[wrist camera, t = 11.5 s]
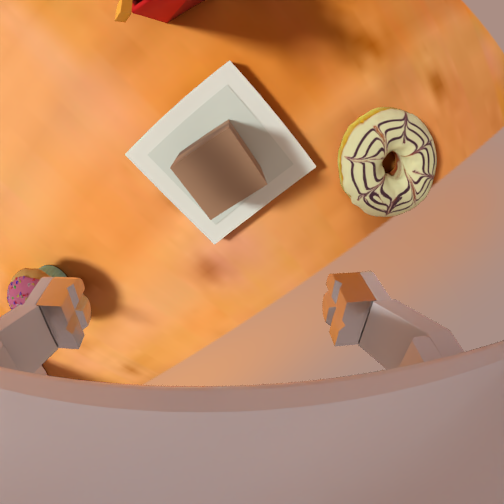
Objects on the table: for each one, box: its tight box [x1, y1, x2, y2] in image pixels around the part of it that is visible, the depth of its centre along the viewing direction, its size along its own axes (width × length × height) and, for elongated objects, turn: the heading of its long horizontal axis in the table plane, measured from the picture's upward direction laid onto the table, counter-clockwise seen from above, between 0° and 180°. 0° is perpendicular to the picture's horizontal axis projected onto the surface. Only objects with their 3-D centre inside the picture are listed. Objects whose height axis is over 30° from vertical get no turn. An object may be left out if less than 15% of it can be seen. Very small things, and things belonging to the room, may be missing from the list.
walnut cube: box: [170, 119, 267, 220], centre depth 24 cm, size 5×5×5 cm
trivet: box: [125, 61, 316, 244], centre depth 27 cm, size 12×12×2 cm
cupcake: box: [7, 265, 67, 309], centre depth 28 cm, size 9×8×12 cm
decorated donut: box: [338, 107, 437, 217], centre depth 28 cm, size 10×11×4 cm
